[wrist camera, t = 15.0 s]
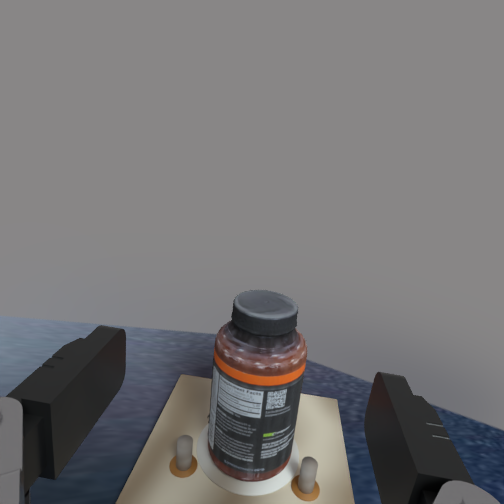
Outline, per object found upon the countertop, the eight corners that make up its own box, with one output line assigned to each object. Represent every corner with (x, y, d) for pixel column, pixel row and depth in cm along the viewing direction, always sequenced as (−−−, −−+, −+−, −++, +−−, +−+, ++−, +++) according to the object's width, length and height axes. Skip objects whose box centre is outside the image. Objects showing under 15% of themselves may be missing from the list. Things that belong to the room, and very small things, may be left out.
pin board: (103, 545, 20) (102, 500, 19) (180, 385, 33) (182, 354, 32) (363, 598, 18) (375, 553, 18) (334, 410, 32) (340, 379, 31)
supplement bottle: (244, 406, 29) (259, 276, 26) (307, 449, 26) (333, 304, 23) (187, 448, 25) (198, 297, 22) (255, 506, 21) (279, 336, 18)
